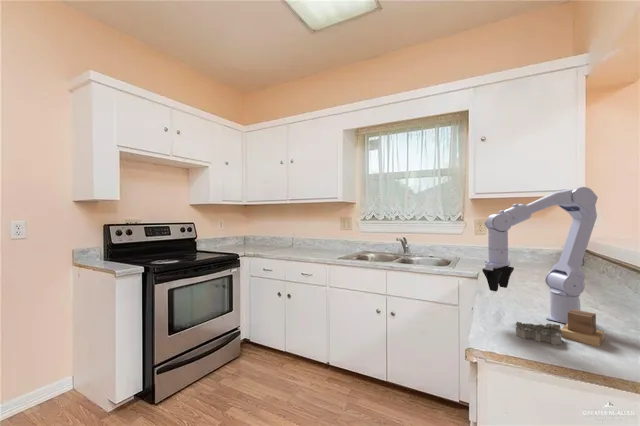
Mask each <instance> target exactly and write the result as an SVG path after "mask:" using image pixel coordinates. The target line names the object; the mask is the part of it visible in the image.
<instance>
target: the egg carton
mask: <svg viewBox="0 0 640 426" xmlns="http://www.w3.org/2000/svg"><path fill="white" fill-rule="evenodd" d="M515 326H516V327H515V335H516V336H518V337H520V338H521V339H531V340H534V341H535V342H539V343H540V342H547V343H549V344H551V345H553V346H557V345H562V338H563V337H562V333H561V329H562V328H561V325H560V324H556V323H546V324H542V323H539V324H535V323H528V322H527V323H524V322H523V323H522V322H520V321H516V322H515Z"/></svg>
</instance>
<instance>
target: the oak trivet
mask: <svg viewBox="0 0 640 426" xmlns="http://www.w3.org/2000/svg"><path fill="white" fill-rule="evenodd" d="M561 333H562V337H561V338H563V339H568V340H573V341H576V342H579V343H583V344H587V345H590V346H591V345H592V346H595V347H600V346H601V345H602V342H604V339H605V331H604V330H599V329H596V332H595V333H594V334H593V335H587V334H583V333H579V332H575V331H571V330H568V323H567V324H566V323H565V325H564V326H563V327H562V328H561Z"/></svg>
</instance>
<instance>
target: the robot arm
mask: <svg viewBox="0 0 640 426" xmlns="http://www.w3.org/2000/svg"><path fill="white" fill-rule="evenodd" d="M597 200H598V196H597V194H596V193H595V192H594V191H593V189H591V188H590V187H586V186H581V187H575V188H569V189H559V190H558V191H554V192H551V193H549V194H547V195H545V196H542V197H540V198H538V199H537V200H534V201H531V202H530V203H527V204H525V203H524V204H523V203H514V204H512V205H511V207H509V208H507V209H502V210H499V211H498V214H496V213H495V214H494V213H493V214H490V215H488V217H486V220H485V221H484V225H485V227H486V229H487V230H488V231H487V234H488V235H487V237H488V240H487V241H488V242H487V243H488V245H487V246H488V247H487V248H488V259H487V260H484V263H485V267H484V268H482V273H483V275H484V277H485V279H486V281H487V285H488V289H489V291H491V292H492V291H493V292H498V291H499V288H504V289H507V288H508V285H509V281H510V277H511V276H512V273H513V272H514V270H515V267H513V266H511V260H509V231H510V229H511V228H512V227H513V226H515V225H517V224H520V223H522V222H525V221H528V220H529V219H530V218H532V215H533V214H534V213H537V212H539V211H542V210H545V209H547V208H550V207H552V206H558V207H559V208H561V209H562V210H564V211H565V212H567V213H568V214H569V215H570V217H572V221H571V224H570V226H569V230H568V233H567V236H566V239H565V242H564V245H563V248H562V251H561V255H560V257H559V260H558V262H557V263H556V264H553V265H552V266H551V269H550V270H549V272H548V273H547V274H546V275H545V280H544V282H545V284H546V286H547V287H548V288H549V291H550V292H549V293H550V294H549V295H550V298H549V299H550V301H549V303H550V314H549V315H548V316H546V317H545V319H546V320H549V321H554V322H558V323H562V324H565V325H566V324H567V323H568V312H569V311H571V310H572V309H575V310H580V311H581V299H580V297H581V294H582V293H583V292H584V290H585V286H586V285H585V278H586V275H585V273H584V272H583V270H582V269H581V266H582V263H583V259H584V257H585V254H586V250H587V249H588V245H589V242H590V238H591V237H592V233H593V230H594V227H595V224H596V220H597V216H598V214H597V207H596V204H597Z"/></svg>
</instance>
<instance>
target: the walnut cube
mask: <svg viewBox="0 0 640 426" xmlns="http://www.w3.org/2000/svg"><path fill="white" fill-rule="evenodd" d="M568 330H571V331H575V332H579V333H583V334H587V335H593V334H594V333H595V332H596V330H597V314H596V313H594V312H588V311H584V310H581V309H580V310H575V309H572V310H571V311H569V312H568Z"/></svg>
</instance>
